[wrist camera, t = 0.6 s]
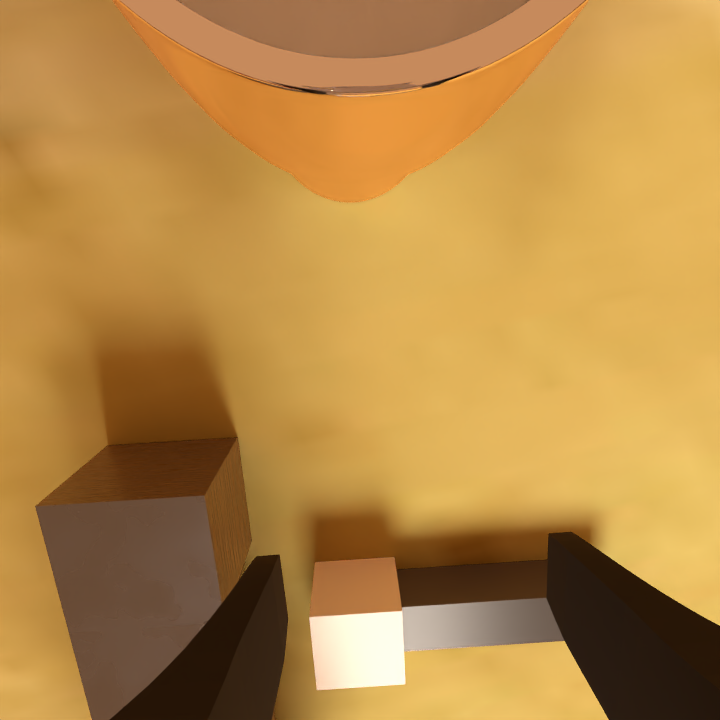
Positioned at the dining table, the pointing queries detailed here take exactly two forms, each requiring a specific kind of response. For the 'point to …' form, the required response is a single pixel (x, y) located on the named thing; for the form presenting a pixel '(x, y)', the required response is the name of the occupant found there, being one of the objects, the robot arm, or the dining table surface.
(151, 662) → the block
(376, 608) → the plug
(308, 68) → the beer glass
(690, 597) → the dining table surface
